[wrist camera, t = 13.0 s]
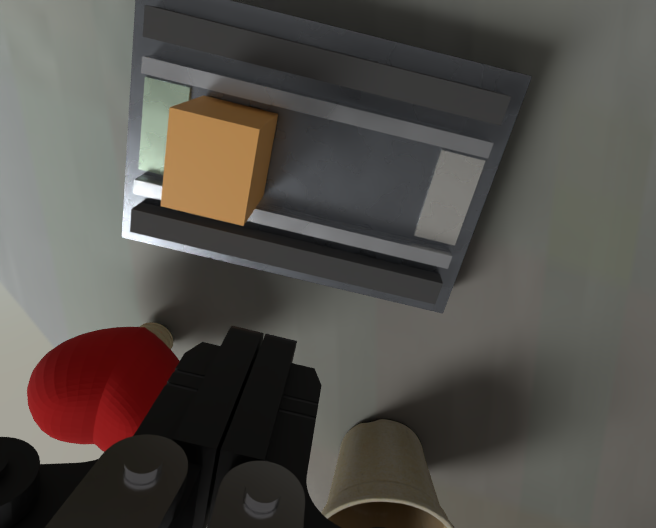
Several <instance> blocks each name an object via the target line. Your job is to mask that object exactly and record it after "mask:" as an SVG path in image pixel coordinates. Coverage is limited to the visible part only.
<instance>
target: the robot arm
mask: <svg viewBox="0 0 656 528" xmlns="http://www.w3.org/2000/svg"><path fill="white" fill-rule="evenodd" d="M296 343H297V341H294V340H290V339H286V338H282V337H278V336H273V335H269V334H265V336H264V339H263V333H260V332H256V331H252V330H248V329H244V328H239V327H235V326H231V327H230V329H229V331H228V333H227V335H226V337H225V339H224V341H223V343H222V345H221V346H217V345H213V344H209V343H205V342H202V343H200V344H198V345H197V346H195V347H194V348H192V349H191V350H189V351H187V352H186V353H185V354H184V355H183V357H182V359H181V360H180V362H179V363H178V365H177V367H176V368H175V371H174V372H173V373H172V375H171V376H170V378H169V379H168V381H167V384H166V385H165V386H164V387H163V389H162V391H161V392H160V394H159V395H158V397H157V399H156V400H155V402H154V403H153V405H152V407H151V408H150V410H149V412H148V413H147V415H146V416H145V418H144V420H143V421H142V423H141V424H140V426H139V428H138V429H137V431H136V432H135V434H134V435H133V436H131V437H128V438H125V439H123V440H120V441H118V442H117V443H115V444H113V445H112V446H111V447H109V448H108V449H107V450H106V451H105V452H104V453H103V454H102V455H101V457H100V458H99V459H97V460H93V461H88V462H82V463H64V464H40V460H39V455H38V453H37V451H36V450H35V449H34V447H32V446H31V445H30V444H29V443H27V442H25V441H23V440H19V439H16V438H10V437H0V528H206V527H207V528H341V527H340V526H338V525H336V524H334V523H333V522H331V521H330V520H328V519H327V518H326V517H325V516H324V515H323V514H321V512H320V511H319V510H318V509H317V508H316V506H315V505H314V503H313V502H312V500H311V498H310V496H309V493H308V490H307V484H306V478H307V470H308V464H309V458H310V452H311V446H312V440H313V433H314V427H315V420H316V415H317V409H318V403H319V397H320V391H321V383H320V381H319V378H318V376H317V373H316V371H315V369H314V368H310V367H306V366H302V365H297V364H293V363H292V361H293V357H294V352H295V348H296ZM207 524H208V525H207ZM372 528H385V527H372Z"/></svg>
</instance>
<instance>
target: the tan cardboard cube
mask: <svg viewBox="0 0 656 528" xmlns="http://www.w3.org/2000/svg"><path fill="white" fill-rule="evenodd" d="M277 118H278V114H277V113H273V112H269V111H265V110H261V109H257V108H253V107H249V106H245V105H241V104H237V103H233V102H229V101H224V100H220V99H216V98H212V97H208V96H201V97H198V98H195V99H192V100H189V101H186V102H183V103H181V104H178V105H175V106H172V107H170V108H169V119H168V130H167V141H166V152H165V163H164V174H163V185H162V196H161V206H162V207H166V208H170V209H175V210H179V211H183V212H187V213H191V214H195V215H200V216H204V217H208V218H212V219H216V220H220V221H225V222H229V223H233V224H237V225H241V226H244V225H245V223H246V222H247V220H248V219H249V217H250V216H251V214H252V213H253V211H254V209H255V208H256V206H257V205H258V203H259V202H260V200H261V199H262V197H263V196H264V191H265V185H266V179H267V174H268V168H269V163H270V157H271V152H272V146H273V141H274V135H275V130H276V124H277Z"/></svg>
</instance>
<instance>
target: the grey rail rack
mask: <svg viewBox="0 0 656 528" xmlns="http://www.w3.org/2000/svg"><path fill="white" fill-rule="evenodd" d="M143 37H146V38H150V39H154V40H158V41H162V42H166V43H170V44H174V45H179V46H183V47H187V48H191V49H195V50H199V51H203V52H207V53H211V54H215V55H219V56H223V57H227V58H231V59H235V60H239V61H243V62H247V63H251V64H255V65H259V66H263V67H267V68H271V69H275V70H279V71H283V72H287V73H291V74H295V75H299V76H303V77H307V78H311V79H315V80H319V81H323V82H327V83H331V84H335V85H339V86H343V87H347V88H351V89H355V90H359V91H363V92H367V93H371V94H375V95H379V96H383V97H388V98H392V99H396V100H400V101H404V102H408V103H412V104H416V105H420V106H424V107H428V108H432V109H436V110H440V111H444V112H448V113H452V114H456V115H460V116H464V117H468V118H472V119H476V120H480V121H484V122H488V123H492V124H496V125H500V126H501V123H502V121H503V118H504V115H505V112H506V110H507V107H508V104H509V102H510V99H511V96H508V95H506V94H503V93H499V92H495V91H491V90H487V89H483V88H479V87H475V86H471V85H467V84H463V83H459V82H455V81H451V80H447V79H443V78H439V77H435V76H431V75H427V74H423V73H419V72H415V71H411V70H407V69H403V68H399V67H395V66H391V65H387V64H383V63H379V62H375V61H371V60H367V59H363V58H359V57H355V56H351V55H347V54H343V53H339V52H335V51H331V50H327V49H323V48H319V47H315V46H311V45H307V44H303V43H299V42H295V41H291V40H287V39H283V38H279V37H275V36H271V35H267V34H263V33H259V32H255V31H251V30H247V29H243V28H239V27H235V26H231V25H227V24H223V23H219V22H215V21H211V20H207V19H203V18H199V17H195V16H191V15H187V14H183V13H179V12H175V11H171V10H167V9H163V8H159V7H155V6H149V5H145V7H144V22H143ZM130 232H132V233H137V234H141V235H145V236H149V237H153V238H158V239H162V240H166V241H170V242H174V243H179V244H183V245H187V246H191V247H195V248H200V249H204V250H208V251H212V252H216V253H221V254H225V255H229V256H233V257H237V258H242V259H246V260H250V261H254V262H258V263H263V264H267V265H271V266H275V267H279V268H284V269H288V270H292V271H296V272H300V273H305V274H309V275H313V276H317V277H321V278H326V279H330V280H334V281H338V282H342V283H347V284H351V285H355V286H359V287H363V288H368V289H372V290H376V291H380V292H384V293H389V294H393V295H397V296H401V297H405V298H410V299H414V300H418V301H422V302H426V303H431V304H436V301H437V298H438V296H439V293H440V290H441V288H442V285H443V282H442V279H441V276H440V274H438V273H434V272H430V271H426V270H422V269H417V268H413V267H409V266H405V265H401V264H397V263H392V262H388V261H384V260H380V259H376V258H372V257H367V256H363V255H359V254H355V253H351V252H347V251H342V250H338V249H334V248H330V247H326V246H322V245H317V244H313V243H309V242H305V241H301V240H296V239H292V238H288V237H284V236H280V235H276V234H271V233H267V232H263V231H259V230H255V229H251V228H246V227H242V226H238V225H234V224H230V223H226V222H221V221H217V220H213V219H209V218H205V217H201V216H196V215H192V214H188V213H184V212H180V211H176V210H171V209H167V208H163V207H159V206H155V205H151V204H146V203H142V202H140V203H139V204H138V205H136V206H135V207H134V208H132V209H131V222H130Z"/></svg>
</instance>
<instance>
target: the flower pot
mask: <svg viewBox="0 0 656 528" xmlns="http://www.w3.org/2000/svg"><path fill="white" fill-rule="evenodd" d="M321 514H323V515H324V516H325V517H326V518H327V519H328V520H330V521H331V522H333V523H334V524H336V525H338V526H340V527H341V528H372V527H385V528H454V526H453V525H452V524H451V522H450V521H449V520H448V518H447V516H446V514H445V512H444V510H443V509H442V508H441V506H440V505H439V502H438V498H437V495H436V492H435V489H434V486H433V483H432V480H431V476H430V473H429V470H428V467H427V463H426V460H425V456H424V453H423V448H422V445H421V443H420V441H419V439H418V437H417V436H416V434H415V433H414V432H413V431H412V430H411V429H409V428H408V427H407V426H405V425H403V424H401V423H398V422H395V421H392V420H386V419H379V420H377V421H374V422H369V423H360V424H358V425H356V426H354V427H353V428H352V429H351V430H349V432H348V433H347V434H346V435H345V437H344V439H343V441H342V443H341V448H340V453H339V457H338V461H337V465H336V469H335V473H334V477H333V481H332V485H331V489H330V493H329V497H328V501H327V504H326V506H325V507H324V509H323V510H322V513H321Z"/></svg>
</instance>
